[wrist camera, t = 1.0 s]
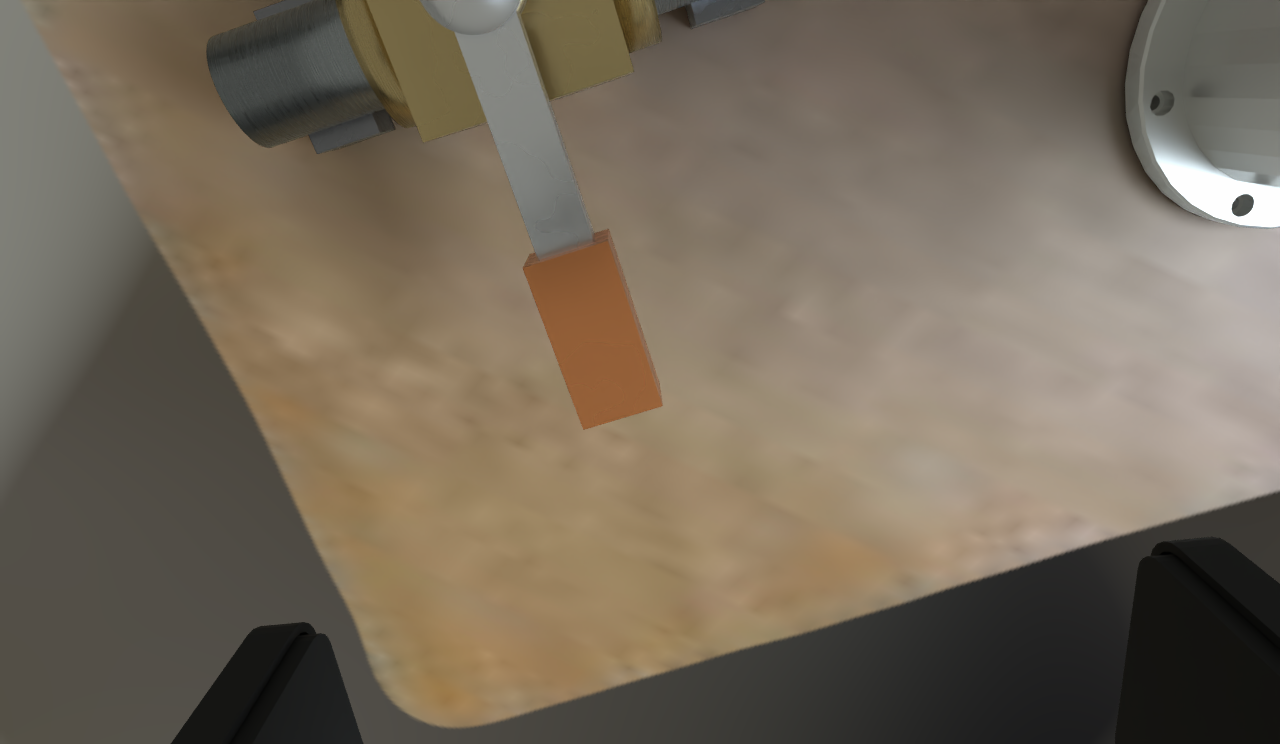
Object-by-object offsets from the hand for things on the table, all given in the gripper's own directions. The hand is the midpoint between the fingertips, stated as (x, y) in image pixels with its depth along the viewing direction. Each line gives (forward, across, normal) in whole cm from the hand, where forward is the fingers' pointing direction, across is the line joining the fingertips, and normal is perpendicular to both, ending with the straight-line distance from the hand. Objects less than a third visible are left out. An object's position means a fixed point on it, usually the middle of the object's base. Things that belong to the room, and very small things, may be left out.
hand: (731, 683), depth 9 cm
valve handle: (+15, +3, -4) cm, 16 cm away
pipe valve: (+23, +4, -9) cm, 26 cm away
